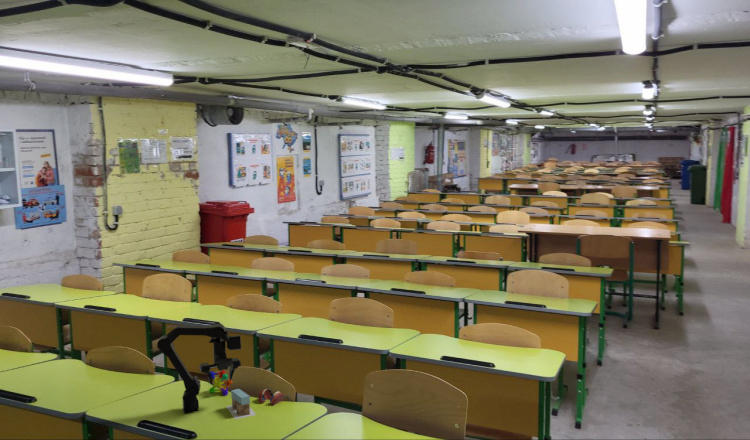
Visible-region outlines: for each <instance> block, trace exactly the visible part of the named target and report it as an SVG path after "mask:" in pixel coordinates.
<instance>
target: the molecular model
mask: <svg viewBox="0 0 750 440" xmlns="http://www.w3.org/2000/svg"><path fill="white" fill-rule="evenodd" d="M210 372H211V379H212V380H213V382H214V383H213V385H212V387H210V388H209V389H208V392H209V393H210V394H214V393H215V392H218V391H220V392H221V393H222V395H223V396H225V397H226V396H228V394H229V391H228V390H229V388H230V386H232V385H233V383H234V382H233V379H231V381H230V379H229V378H228V377H229V374H227V372H226V370H222V371H220V372H214V371H211V370H210ZM218 375H219V376H218ZM216 376H217V377H216ZM223 380H226V381H223ZM223 385H224V386H223Z"/></svg>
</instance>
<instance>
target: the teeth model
mask: <svg viewBox="0 0 750 440" xmlns="http://www.w3.org/2000/svg"><path fill="white" fill-rule="evenodd" d="M284 397H285V395H284V393H281V392H280V391H276V392H274V393H273V392H272V390H271V389H270V388H266V389H262V390H260V391H259V393H258V397H257V398H258V403H259V404H263V403H265V402H266V401H267V400H269V402H270V405H271V406H275V405H277V404H279V403H280V402H283V401H284V400H285V398H284Z"/></svg>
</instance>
